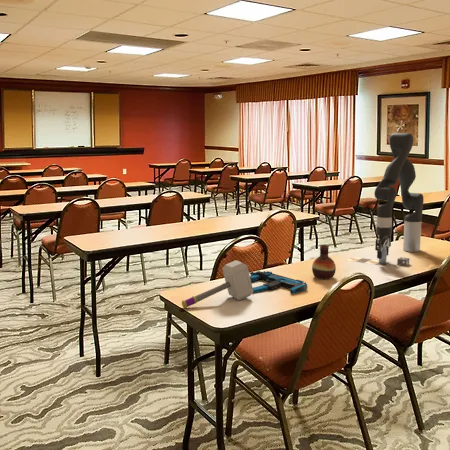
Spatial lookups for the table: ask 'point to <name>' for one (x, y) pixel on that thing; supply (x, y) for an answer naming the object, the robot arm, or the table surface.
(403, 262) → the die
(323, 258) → the vase
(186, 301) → the hammer
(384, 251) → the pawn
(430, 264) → the table surface
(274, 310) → the table surface
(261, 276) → the submachine gun
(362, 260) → the board
